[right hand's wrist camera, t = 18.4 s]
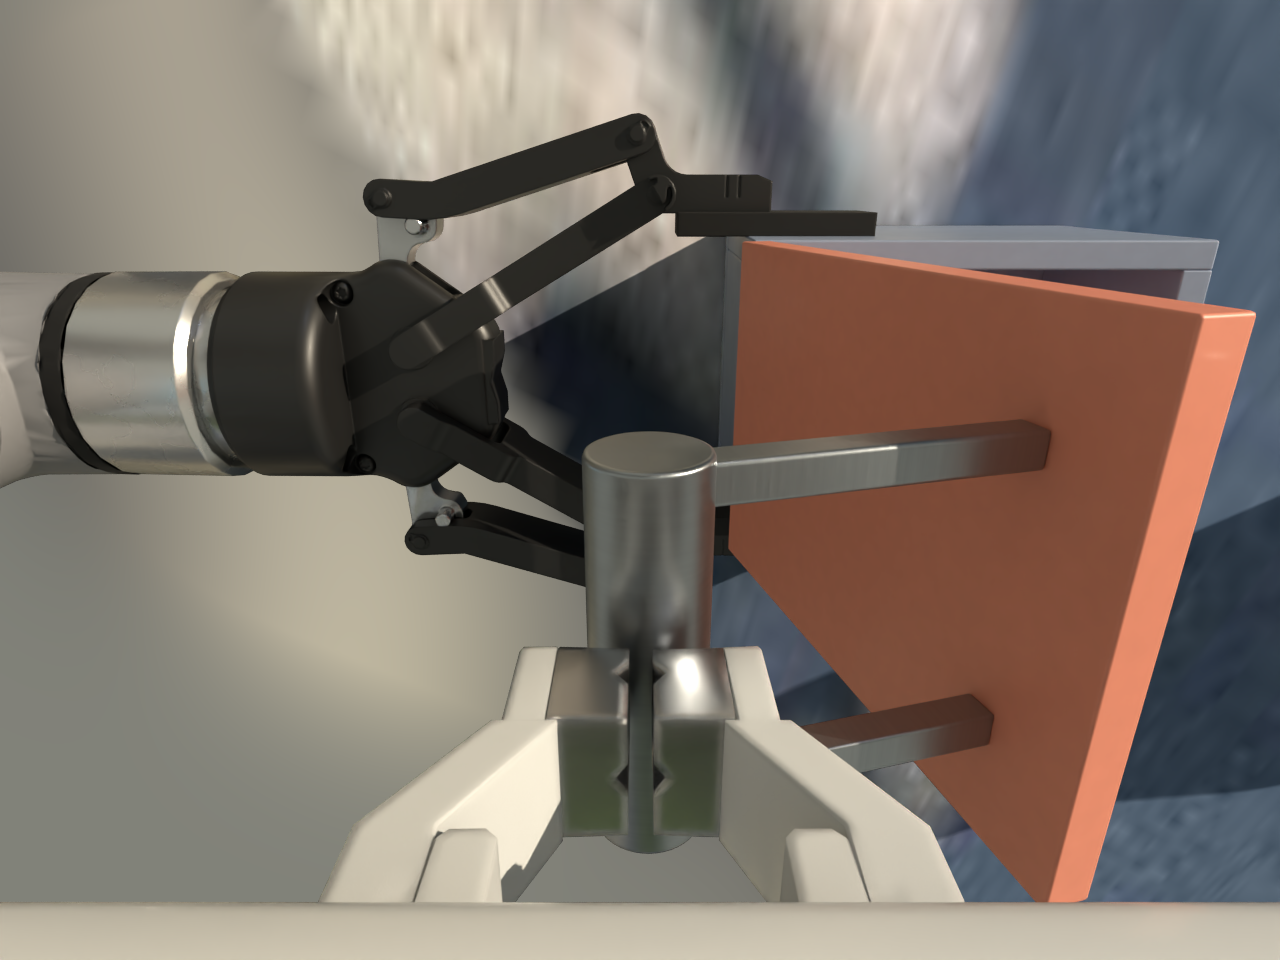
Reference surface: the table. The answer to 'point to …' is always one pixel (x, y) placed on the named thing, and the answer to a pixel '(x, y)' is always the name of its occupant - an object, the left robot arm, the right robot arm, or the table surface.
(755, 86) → the table surface
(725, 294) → the chest
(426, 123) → the table surface
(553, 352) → the table surface
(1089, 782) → the lid
